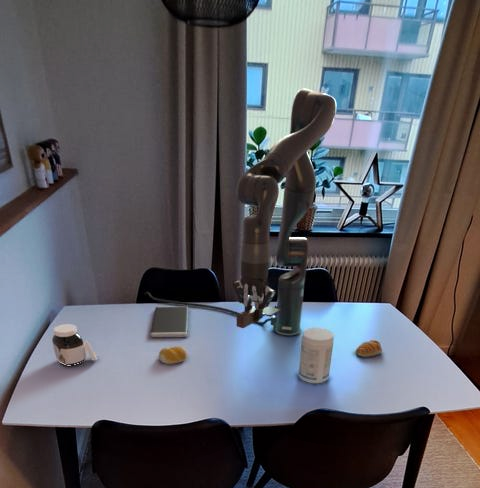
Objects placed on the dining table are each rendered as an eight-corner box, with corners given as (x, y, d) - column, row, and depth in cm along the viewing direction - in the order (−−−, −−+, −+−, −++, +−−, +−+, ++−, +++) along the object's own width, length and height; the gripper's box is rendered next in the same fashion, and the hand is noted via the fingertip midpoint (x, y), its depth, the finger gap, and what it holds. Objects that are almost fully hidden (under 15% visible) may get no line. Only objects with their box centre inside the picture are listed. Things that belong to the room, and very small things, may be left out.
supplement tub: (319, 368, 156) (325, 325, 147) (334, 381, 148) (340, 337, 140) (292, 372, 153) (296, 329, 144) (306, 386, 146) (311, 342, 137)
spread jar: (53, 360, 156) (45, 327, 149) (83, 350, 163) (77, 317, 156) (73, 373, 150) (65, 338, 143) (103, 361, 156) (98, 328, 150)
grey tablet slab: (188, 310, 195) (188, 306, 194) (187, 337, 173) (187, 333, 172) (155, 310, 194) (155, 306, 193) (150, 338, 172) (150, 333, 171)
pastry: (365, 360, 161) (367, 350, 159) (350, 353, 165) (351, 343, 163) (382, 353, 166) (385, 342, 164) (367, 346, 170) (369, 336, 168)
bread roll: (190, 360, 158) (190, 349, 156) (166, 366, 154) (165, 355, 152) (179, 351, 164) (178, 340, 161) (155, 356, 160) (154, 346, 157)
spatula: (247, 329, 133) (247, 318, 131) (232, 325, 136) (232, 313, 134) (281, 311, 145) (281, 300, 143) (266, 307, 148) (267, 296, 146)
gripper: (284, 260, 128) (279, 321, 138) (242, 251, 134) (240, 310, 144) (269, 266, 123) (265, 329, 133) (226, 256, 129) (225, 317, 139)
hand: (252, 319), depth 139 cm, fingers closed on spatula, 2 cm apart
